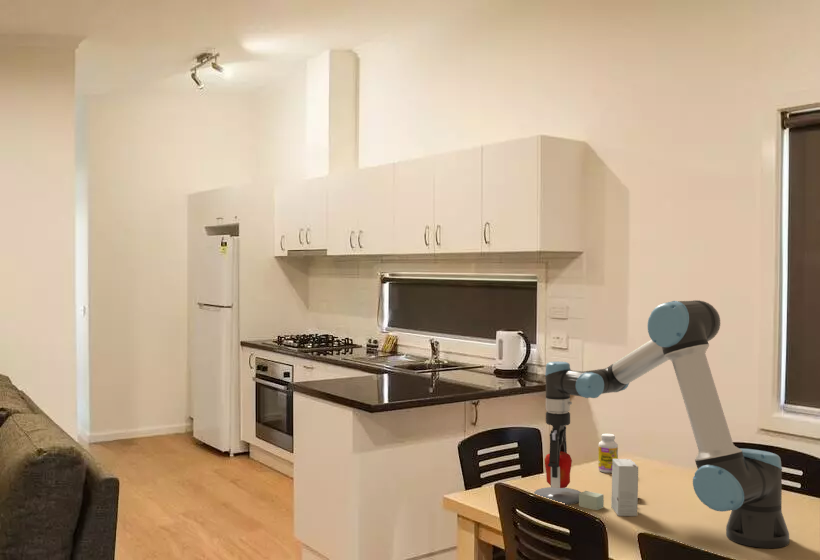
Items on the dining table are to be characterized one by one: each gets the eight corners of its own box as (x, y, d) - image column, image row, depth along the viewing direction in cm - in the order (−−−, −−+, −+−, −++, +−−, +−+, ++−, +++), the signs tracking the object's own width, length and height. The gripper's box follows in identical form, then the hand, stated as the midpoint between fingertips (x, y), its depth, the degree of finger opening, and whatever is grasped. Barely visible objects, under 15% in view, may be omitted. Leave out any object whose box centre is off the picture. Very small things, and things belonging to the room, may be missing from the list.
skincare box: (610, 508, 230) (610, 458, 230) (631, 507, 230) (630, 458, 230) (618, 516, 222) (617, 465, 222) (639, 516, 222) (638, 465, 222)
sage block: (597, 510, 228) (596, 497, 228) (579, 506, 232) (578, 493, 232) (603, 507, 231) (603, 494, 231) (585, 503, 235) (585, 490, 235)
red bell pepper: (556, 481, 247) (556, 444, 247) (577, 486, 241) (577, 448, 241) (539, 486, 242) (538, 448, 242) (560, 491, 235) (560, 453, 235)
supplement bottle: (598, 472, 270) (597, 436, 270) (598, 468, 277) (598, 432, 277) (617, 473, 269) (617, 437, 269) (618, 469, 275) (617, 433, 275)
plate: (578, 506, 232) (578, 502, 232) (529, 501, 237) (529, 497, 237) (586, 493, 245) (586, 489, 245) (540, 488, 251) (540, 485, 251)
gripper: (563, 418, 230) (563, 494, 230) (576, 406, 250) (576, 476, 250) (538, 416, 233) (539, 491, 233) (553, 405, 252) (553, 474, 253)
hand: (558, 483), depth 241 cm, fingers closed on red bell pepper, 9 cm apart
